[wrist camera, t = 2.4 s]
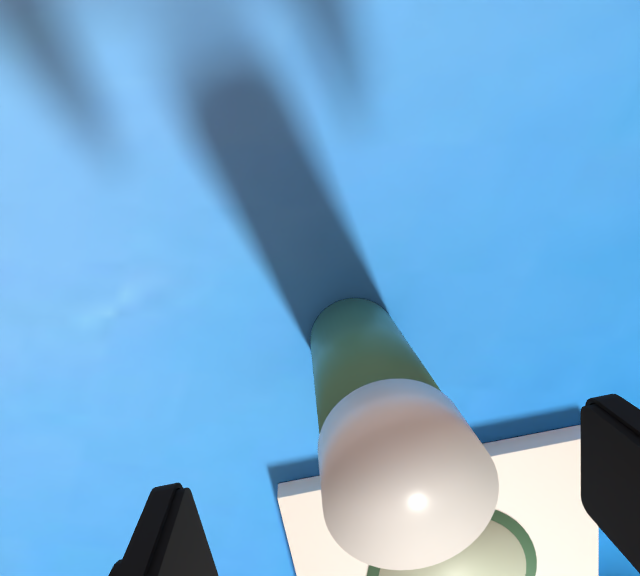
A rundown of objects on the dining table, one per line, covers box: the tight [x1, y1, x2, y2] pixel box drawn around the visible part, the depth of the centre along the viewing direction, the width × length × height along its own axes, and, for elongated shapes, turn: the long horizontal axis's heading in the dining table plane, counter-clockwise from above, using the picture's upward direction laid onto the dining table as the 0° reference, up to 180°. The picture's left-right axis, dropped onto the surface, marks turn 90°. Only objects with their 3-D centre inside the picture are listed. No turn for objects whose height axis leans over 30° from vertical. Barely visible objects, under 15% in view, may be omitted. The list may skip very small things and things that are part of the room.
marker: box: [310, 298, 499, 570], centre depth 15 cm, size 4×4×10 cm
